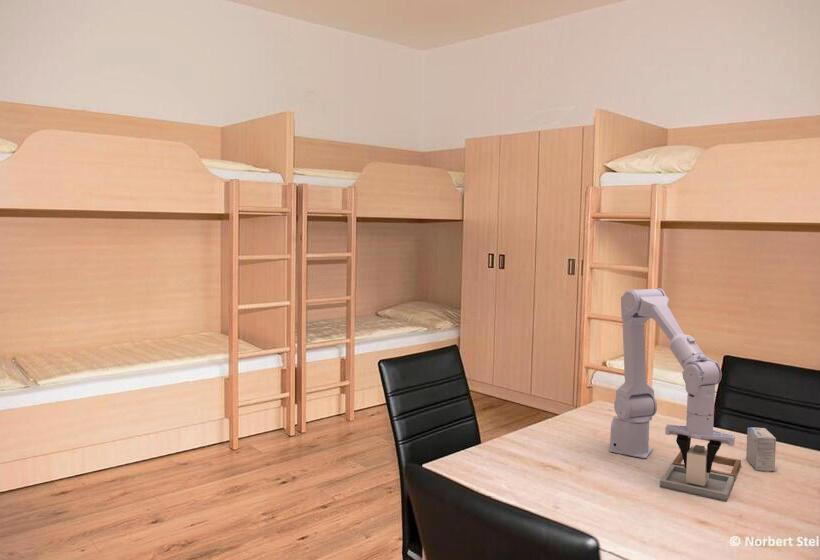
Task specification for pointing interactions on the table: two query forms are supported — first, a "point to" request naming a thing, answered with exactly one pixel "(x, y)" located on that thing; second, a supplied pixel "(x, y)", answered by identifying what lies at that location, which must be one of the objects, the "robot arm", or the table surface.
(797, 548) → the table surface
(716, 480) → the lower tray
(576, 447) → the table surface
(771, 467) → the medicine box
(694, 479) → the plug block
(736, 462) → the frame
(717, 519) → the table surface
